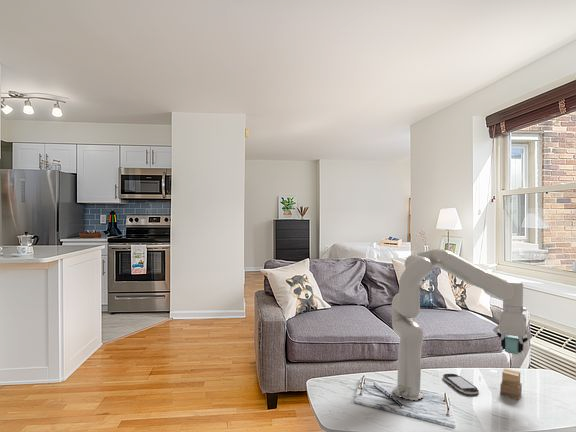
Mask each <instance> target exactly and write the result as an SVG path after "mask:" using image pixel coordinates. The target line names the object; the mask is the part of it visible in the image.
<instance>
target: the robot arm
mask: <svg viewBox="0 0 576 432" xmlns="http://www.w3.org/2000/svg"><path fill="white" fill-rule="evenodd" d="M404 268H405V270H403V272H402V274H401V276H400V278H399V283H398V293H396V294H395V295H394V296H393V298H392V301H391V324H392V330H393V331H394V333H395V335H397V336H398V337H399V344H398V348H397V378H396V379H397V381H396V383H397V384H396V386H394V387H393V394H394V393H395V394H394V395H395V396H396V397H398V396H401V397H403V398H406V399H410V400H409V401H413V400H415V401H419V400H418V399H421V398H423V399H424V397H425V393H424V391H423V390H422V389H421V370H422V366H421V365H422V348H423V341H424V332H423V329H422V327H421V326H420V325H419V324H418V323H417V322H416V321H414V320H413V319H415V318H417V317H418V316H419V315H420V312H421V303H420V302H421V300H420V299H421V298H420V297H421V295H420V287H421V283H422V281H423V280H424V279H425V278H426V277H427V276H429V275H430V274H431V273H432V270H433V269H436V268H438V269H441V270H443V271H444V272H446V273H448V274H450V275H451V276H453V277H455V278H457V279H459V280H460V281H461V282H464V283H466V284H468V285H471V286H473V287H477V288H479V289H481V290H483V292H484V293H485V294H486V295H488V296H489V297H493V298H496V299H498V300H502V309H501V310H500V316H499V320H498V323H499V324H498V325H496V326H495V327H494V328H493V329H492V331H493V332H494V333H495V334H496V335H497V337H499V339H500V341H501V342H500V346H501V347H502V350H505V336H507V335H508V336H512V337H517V338H519V351H518V352H519V354H522V353H521V352H523V351H524V343H526V342H528V341H529V340H532V338H533V335H532V333H530V331H529V330H528V329H527V319H526V314H525V312H527V310H528V309H527V307H524V305H523V304H524V285H523V282H521V281H519V280H510V279H509V280H508V279H507V280H503V279H502V278H500V277H498V276H496V275H495V274H493V273H491V272H489V271H486V270H485V269H482V268H481V267H479V266H477V265H475V264H473V263H471V262H469V261H468V260H466V259H464V258H462V257H460V256H459V255H457V254H455V253H453V251H449V250H446V249H441V248H435V249H430V250H426V251H423V252H419V253H414V254H413V253H412V254H411V255H408V256H407V257H406V258H405V260H404ZM406 399H405V400H406ZM421 400H422V399H421Z"/></svg>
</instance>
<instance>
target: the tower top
mask: <svg viewBox="0 0 576 432" xmlns="http://www.w3.org/2000/svg"><path fill="white" fill-rule="evenodd" d="M501 374H502V375H501V379H502V380H501V382H502V384H506V385H509V386H513V387H517V388H518V387H519V385H520V383H521V371H518V370H514V369H510V368H504V369H503V371H502V372H501Z"/></svg>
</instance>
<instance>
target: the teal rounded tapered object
mask: <svg viewBox="0 0 576 432" xmlns="http://www.w3.org/2000/svg"><path fill="white" fill-rule="evenodd" d="M519 342H520V341H519V338H518V336H512V335H508V336H507V335H506V336H505V349H504V352H506V353H507V354H508V353H509V354H512V355H520V353H519V352H518V351H519Z"/></svg>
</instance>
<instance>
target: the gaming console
mask: <svg viewBox="0 0 576 432" xmlns="http://www.w3.org/2000/svg"><path fill="white" fill-rule="evenodd" d="M442 378H443V380H444V382H446V383H447V384H448V385H450V386H451V387H453V388H454V389H455V390H456V391H458V392H459V393H460V394H462V395H465V396H477V395H478V394H479V391H480V390H479V389H478V387H477V386H475V385H474V384H472V382H469V381H468V380H467V379H465V378H464V377H462V376H460V375H458V374H455V373H444V374H442Z"/></svg>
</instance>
